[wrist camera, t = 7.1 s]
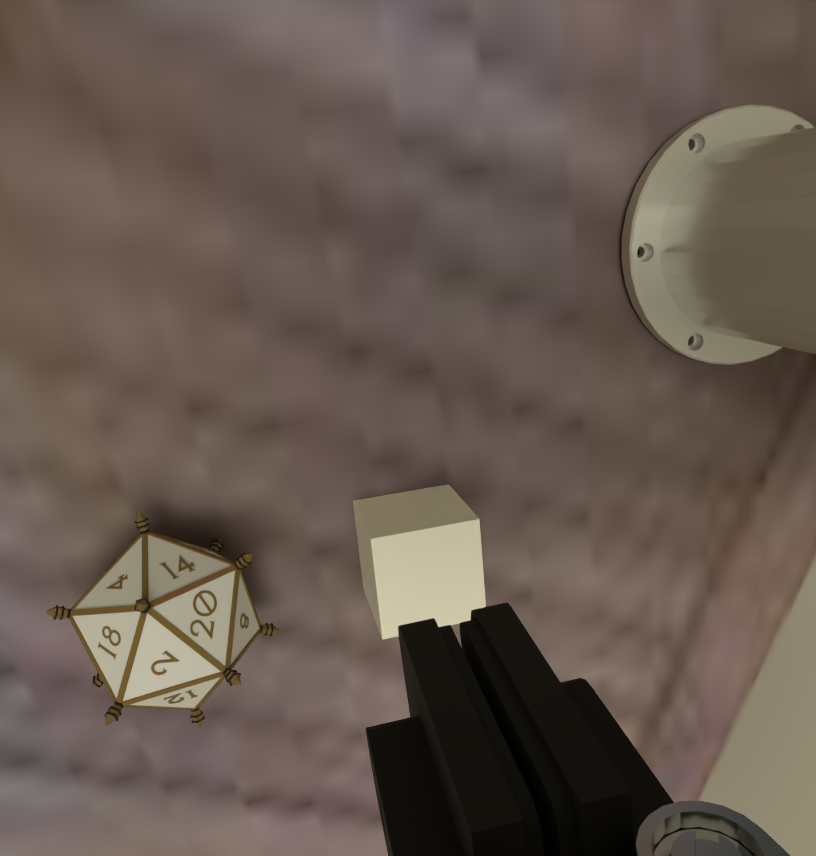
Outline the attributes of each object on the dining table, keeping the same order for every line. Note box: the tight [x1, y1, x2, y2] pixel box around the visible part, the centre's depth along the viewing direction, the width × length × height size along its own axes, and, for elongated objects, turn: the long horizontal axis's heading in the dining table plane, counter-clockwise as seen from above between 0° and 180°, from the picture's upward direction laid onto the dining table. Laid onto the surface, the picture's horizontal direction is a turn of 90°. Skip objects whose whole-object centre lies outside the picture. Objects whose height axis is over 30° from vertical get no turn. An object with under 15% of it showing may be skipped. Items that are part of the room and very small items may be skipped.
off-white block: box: [353, 484, 486, 640], centre depth 37 cm, size 5×5×5 cm
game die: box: [45, 512, 279, 727], centre depth 33 cm, size 9×8×10 cm
